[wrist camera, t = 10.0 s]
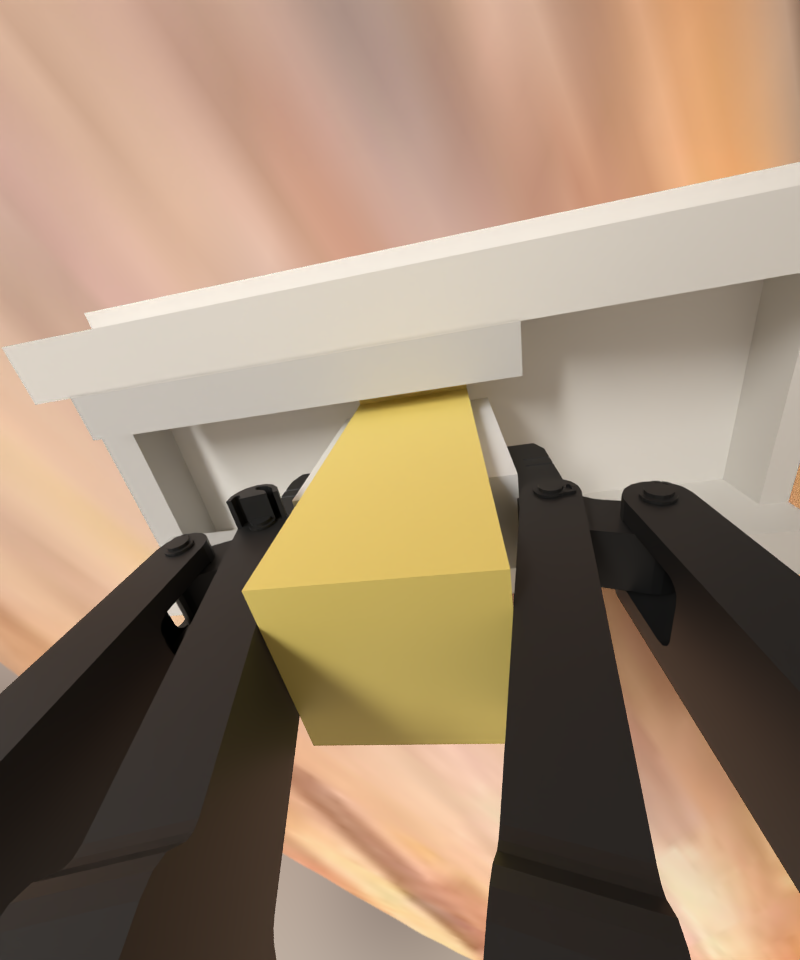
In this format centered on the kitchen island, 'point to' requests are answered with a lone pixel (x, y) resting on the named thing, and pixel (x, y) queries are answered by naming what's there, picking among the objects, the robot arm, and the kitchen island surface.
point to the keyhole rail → (567, 366)
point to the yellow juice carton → (393, 583)
